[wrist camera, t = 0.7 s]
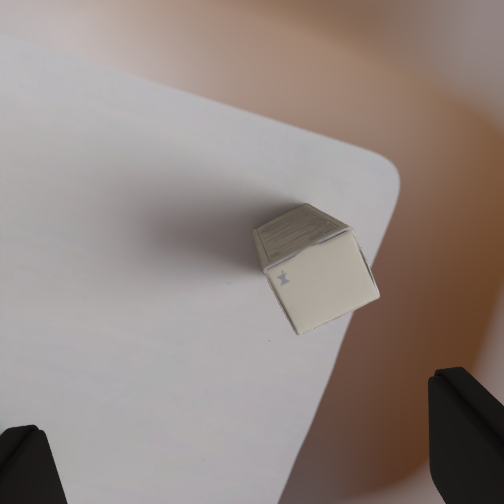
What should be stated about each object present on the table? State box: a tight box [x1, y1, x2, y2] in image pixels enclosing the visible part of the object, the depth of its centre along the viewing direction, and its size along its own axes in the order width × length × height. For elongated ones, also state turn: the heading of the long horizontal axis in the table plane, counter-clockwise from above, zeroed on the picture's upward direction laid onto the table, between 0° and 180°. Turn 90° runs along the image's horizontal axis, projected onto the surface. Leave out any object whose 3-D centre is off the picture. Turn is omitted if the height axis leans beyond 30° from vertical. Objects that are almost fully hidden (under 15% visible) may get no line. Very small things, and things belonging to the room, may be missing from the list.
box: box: [252, 204, 380, 335], centre depth 25 cm, size 5×4×11 cm
